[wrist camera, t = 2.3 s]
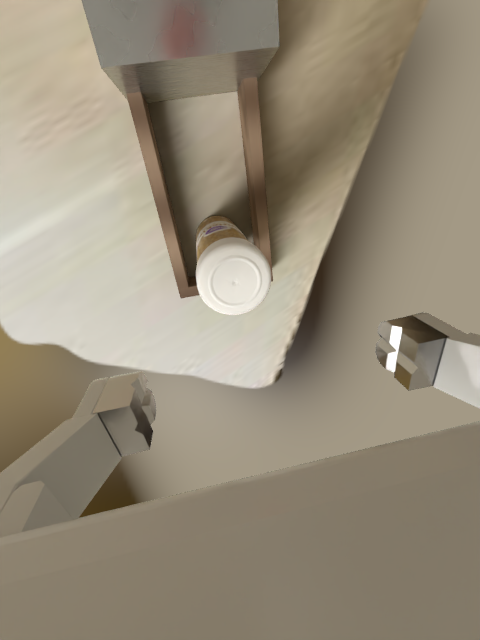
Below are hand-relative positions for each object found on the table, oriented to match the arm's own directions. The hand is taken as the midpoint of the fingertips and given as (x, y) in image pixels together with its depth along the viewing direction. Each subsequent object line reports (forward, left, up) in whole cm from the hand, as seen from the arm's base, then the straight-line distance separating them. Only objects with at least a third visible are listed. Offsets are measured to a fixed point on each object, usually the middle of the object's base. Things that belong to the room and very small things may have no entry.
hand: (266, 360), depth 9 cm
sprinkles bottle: (0, 0, -21) cm, 21 cm away
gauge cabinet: (-14, 0, -21) cm, 25 cm away
